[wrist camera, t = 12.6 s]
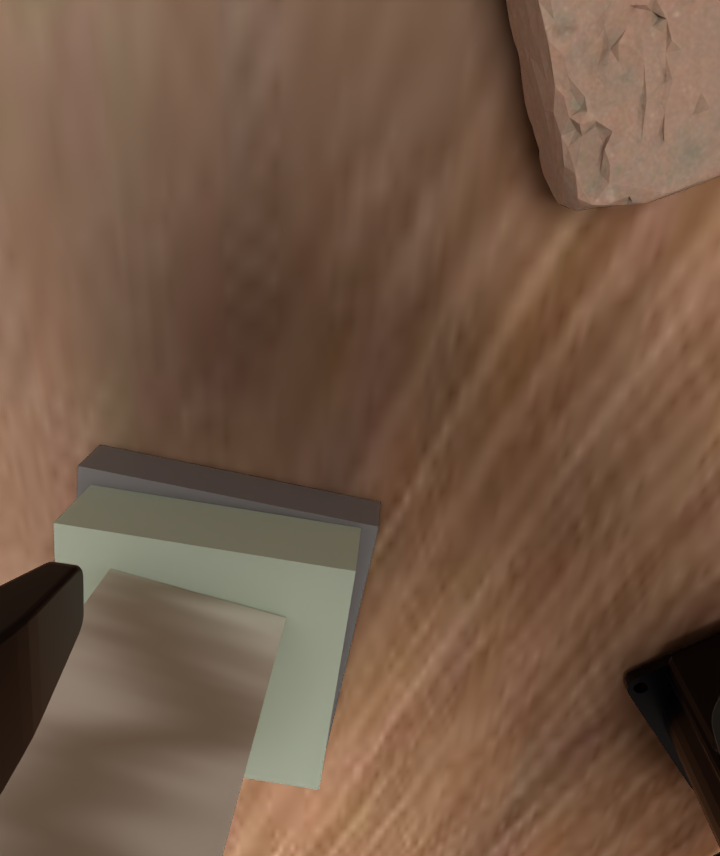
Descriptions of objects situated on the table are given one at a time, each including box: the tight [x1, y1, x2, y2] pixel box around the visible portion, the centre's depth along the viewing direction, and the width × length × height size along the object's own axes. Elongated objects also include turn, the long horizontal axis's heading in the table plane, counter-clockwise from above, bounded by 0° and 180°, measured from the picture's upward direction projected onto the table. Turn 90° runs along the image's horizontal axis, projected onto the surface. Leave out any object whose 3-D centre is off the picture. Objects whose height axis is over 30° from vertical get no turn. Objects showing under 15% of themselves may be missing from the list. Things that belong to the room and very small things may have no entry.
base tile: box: [77, 445, 381, 748], centre depth 25 cm, size 10×10×2 cm
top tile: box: [54, 485, 361, 790], centre depth 23 cm, size 9×9×2 cm
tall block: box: [0, 569, 286, 856], centre depth 17 cm, size 6×6×10 cm
